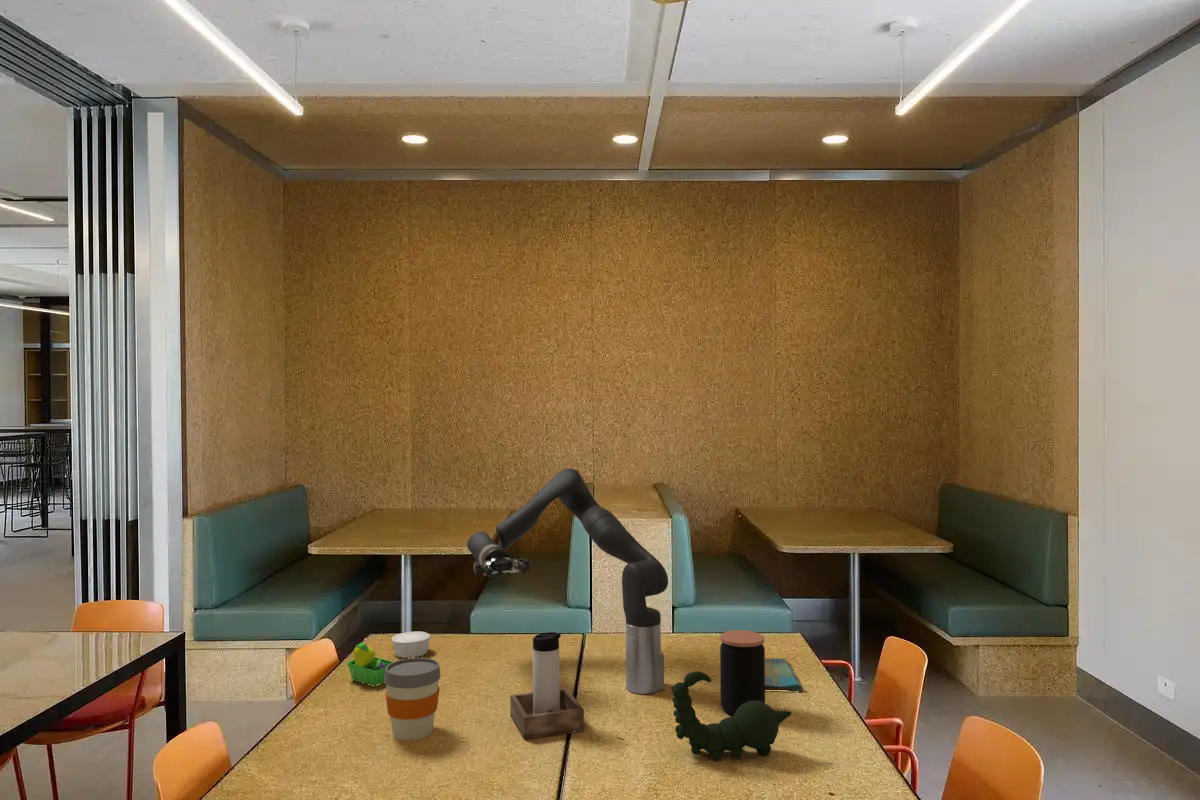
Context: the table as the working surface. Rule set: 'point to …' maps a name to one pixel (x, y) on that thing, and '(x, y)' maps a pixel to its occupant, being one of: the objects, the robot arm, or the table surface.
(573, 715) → the walnut crate
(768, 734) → the toy figurine
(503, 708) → the table surface
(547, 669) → the travel mug
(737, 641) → the coffee jar
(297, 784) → the table surface
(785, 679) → the dish towel
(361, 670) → the fruit basket
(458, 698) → the table surface
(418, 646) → the ramekin
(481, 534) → the robot arm
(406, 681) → the reusable coffee cup
